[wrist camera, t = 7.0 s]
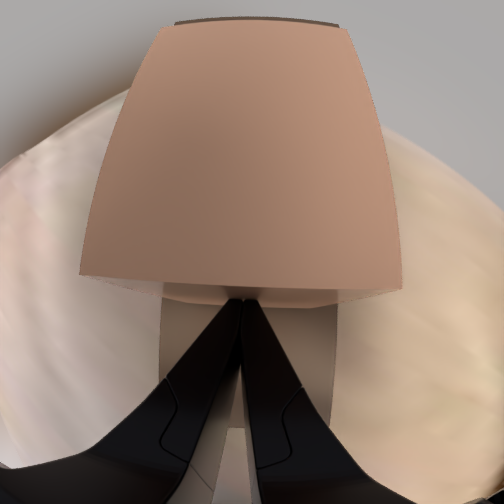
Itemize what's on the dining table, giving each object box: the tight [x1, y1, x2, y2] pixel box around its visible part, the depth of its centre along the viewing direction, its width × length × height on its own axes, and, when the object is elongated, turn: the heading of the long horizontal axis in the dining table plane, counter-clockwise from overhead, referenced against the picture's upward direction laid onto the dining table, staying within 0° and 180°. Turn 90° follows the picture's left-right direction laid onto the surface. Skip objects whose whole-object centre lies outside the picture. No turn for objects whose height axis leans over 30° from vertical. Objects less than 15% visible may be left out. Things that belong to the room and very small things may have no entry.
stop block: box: [159, 17, 339, 428], centre depth 11 cm, size 18×9×9 cm, turn 178°
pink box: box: [79, 20, 402, 308], centre depth 10 cm, size 8×6×9 cm
